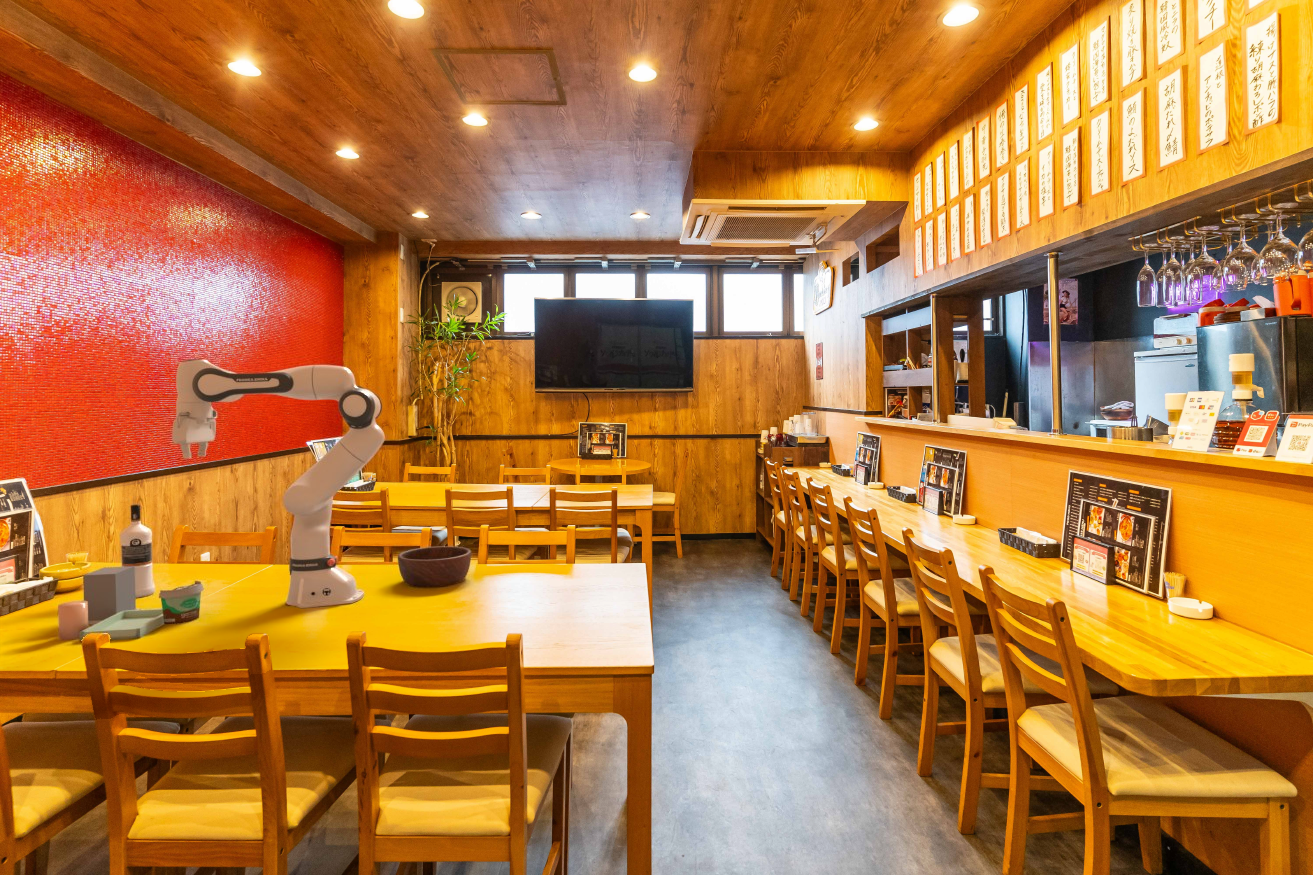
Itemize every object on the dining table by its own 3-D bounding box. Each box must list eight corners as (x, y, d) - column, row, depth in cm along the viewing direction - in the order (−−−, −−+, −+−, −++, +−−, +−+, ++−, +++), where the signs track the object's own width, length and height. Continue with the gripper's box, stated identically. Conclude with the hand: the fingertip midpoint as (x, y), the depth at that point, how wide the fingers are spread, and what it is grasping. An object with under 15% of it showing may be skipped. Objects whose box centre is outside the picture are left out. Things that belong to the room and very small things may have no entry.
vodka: (158, 590, 229) (155, 502, 228) (151, 596, 220) (149, 505, 219) (124, 593, 225) (121, 503, 224) (116, 600, 216) (113, 507, 215)
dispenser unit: (141, 611, 204) (140, 565, 204) (118, 622, 193) (117, 574, 192) (103, 613, 202) (102, 566, 202) (78, 625, 190) (76, 576, 190)
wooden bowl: (408, 573, 252) (407, 546, 252) (476, 572, 255) (476, 545, 255) (389, 591, 227) (388, 561, 227) (465, 589, 230) (464, 559, 230)
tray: (176, 616, 199) (176, 607, 199) (140, 637, 180) (139, 628, 180) (122, 619, 196) (122, 610, 196) (79, 641, 177) (79, 632, 177)
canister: (93, 632, 184) (92, 599, 184) (79, 639, 178) (78, 605, 178) (68, 633, 183) (67, 601, 183) (53, 641, 177) (52, 607, 177)
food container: (177, 627, 189) (176, 591, 188) (159, 625, 190) (158, 590, 190) (214, 614, 201) (214, 581, 200) (197, 613, 202) (196, 580, 202)
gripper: (189, 412, 197) (190, 459, 198) (219, 412, 217) (220, 455, 218) (165, 412, 196) (166, 459, 196) (197, 412, 216) (198, 455, 216)
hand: (194, 457), depth 207 cm, fingers open, 8 cm apart
